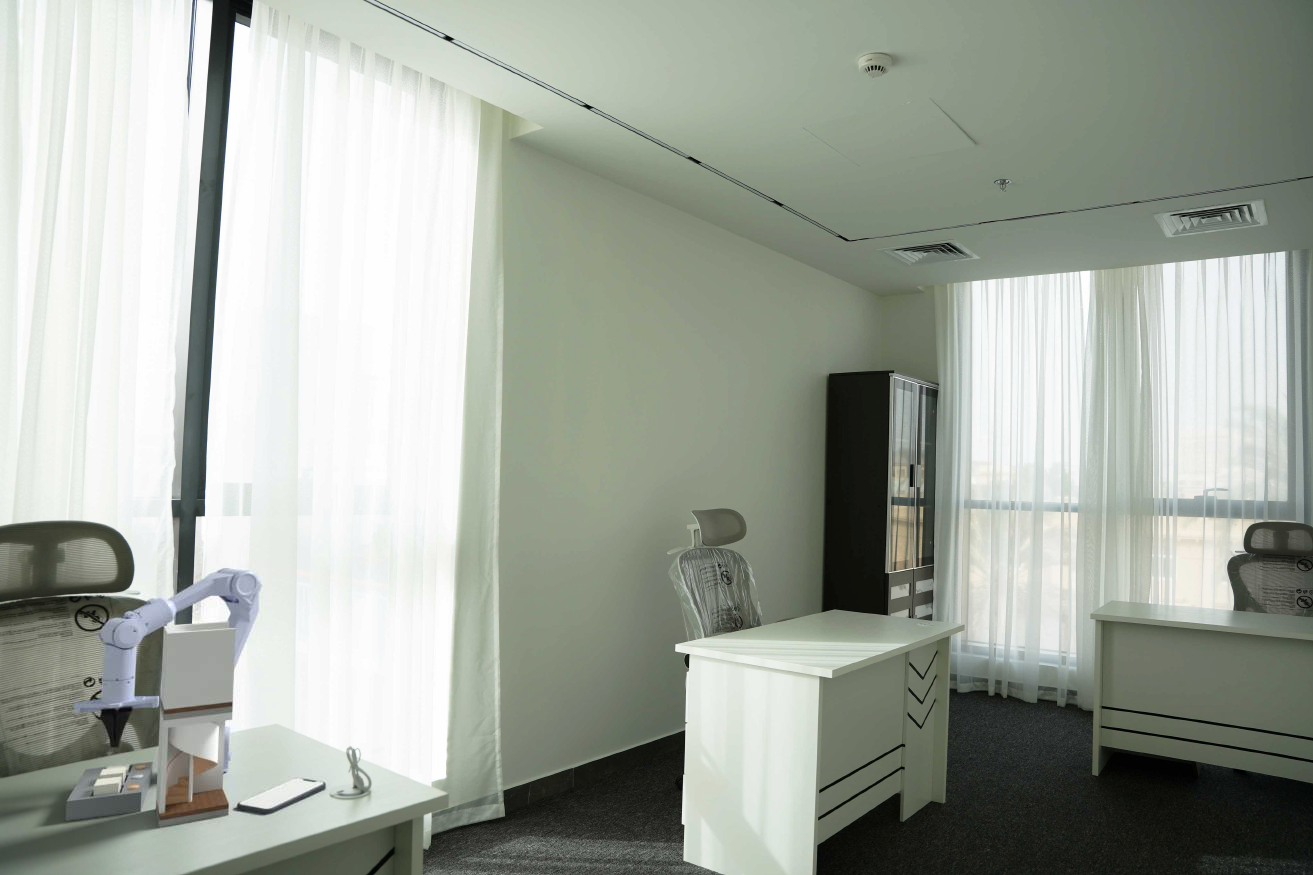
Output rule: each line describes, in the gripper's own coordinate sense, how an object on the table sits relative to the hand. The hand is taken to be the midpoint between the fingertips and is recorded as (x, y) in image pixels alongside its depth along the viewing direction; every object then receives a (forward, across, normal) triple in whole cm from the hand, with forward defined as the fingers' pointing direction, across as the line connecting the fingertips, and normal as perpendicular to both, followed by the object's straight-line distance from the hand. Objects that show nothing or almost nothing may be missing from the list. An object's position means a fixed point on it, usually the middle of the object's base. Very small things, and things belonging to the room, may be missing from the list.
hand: (115, 746), depth 173 cm
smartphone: (+10, +31, -16) cm, 36 cm away
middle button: (+7, 0, -3) cm, 8 cm away
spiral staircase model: (+10, +15, -17) cm, 25 cm away
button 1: (+7, 0, -9) cm, 12 cm away
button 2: (+8, 0, +4) cm, 9 cm away
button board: (+10, 0, -3) cm, 10 cm away
